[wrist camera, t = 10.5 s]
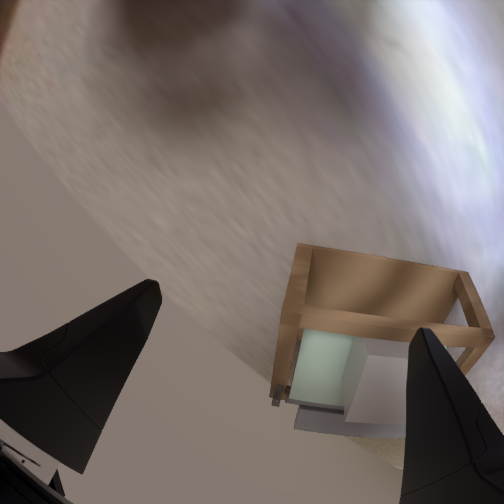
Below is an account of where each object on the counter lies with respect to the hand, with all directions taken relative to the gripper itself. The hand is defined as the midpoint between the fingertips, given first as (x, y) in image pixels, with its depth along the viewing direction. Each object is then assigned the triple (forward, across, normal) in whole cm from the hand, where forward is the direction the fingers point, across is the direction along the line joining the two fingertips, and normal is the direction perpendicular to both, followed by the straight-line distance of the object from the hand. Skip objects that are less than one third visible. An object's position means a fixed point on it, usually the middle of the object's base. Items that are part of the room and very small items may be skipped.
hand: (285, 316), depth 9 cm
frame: (+13, -7, +11) cm, 18 cm away
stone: (+7, -7, +10) cm, 14 cm away
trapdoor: (+7, -7, +13) cm, 16 cm away
